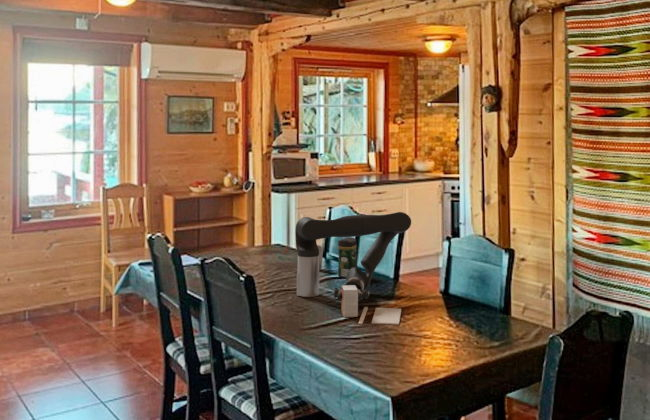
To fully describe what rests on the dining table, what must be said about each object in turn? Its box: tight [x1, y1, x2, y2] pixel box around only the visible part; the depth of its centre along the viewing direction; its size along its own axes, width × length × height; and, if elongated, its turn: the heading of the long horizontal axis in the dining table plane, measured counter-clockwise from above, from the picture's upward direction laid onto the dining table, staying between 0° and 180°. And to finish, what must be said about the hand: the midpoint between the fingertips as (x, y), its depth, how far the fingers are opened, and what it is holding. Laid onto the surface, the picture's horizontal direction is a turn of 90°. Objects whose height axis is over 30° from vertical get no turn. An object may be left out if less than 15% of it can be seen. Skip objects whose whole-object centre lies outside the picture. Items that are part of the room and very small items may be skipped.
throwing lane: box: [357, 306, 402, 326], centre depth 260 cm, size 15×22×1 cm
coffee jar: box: [337, 237, 358, 279], centre depth 327 cm, size 10×8×19 cm
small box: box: [341, 284, 359, 318], centre depth 262 cm, size 8×6×10 cm
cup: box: [317, 244, 325, 271], centre depth 341 cm, size 7×7×12 cm
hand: (348, 298), depth 261 cm, fingers closed on small box, 6 cm apart
